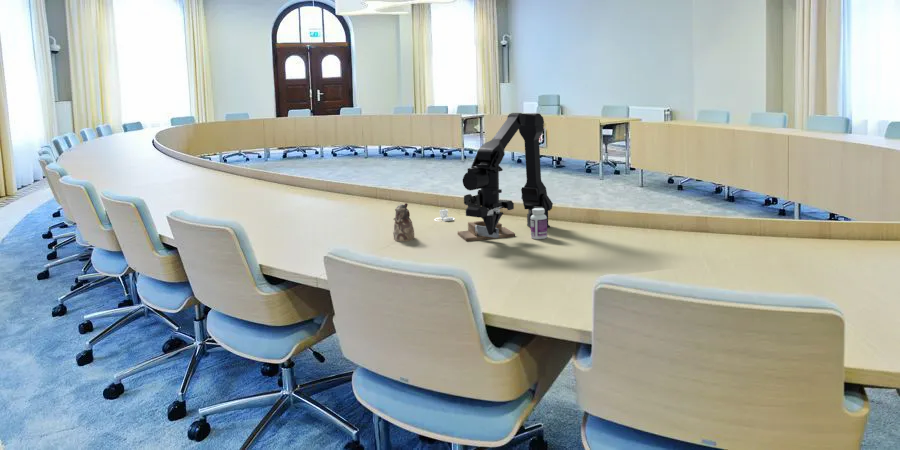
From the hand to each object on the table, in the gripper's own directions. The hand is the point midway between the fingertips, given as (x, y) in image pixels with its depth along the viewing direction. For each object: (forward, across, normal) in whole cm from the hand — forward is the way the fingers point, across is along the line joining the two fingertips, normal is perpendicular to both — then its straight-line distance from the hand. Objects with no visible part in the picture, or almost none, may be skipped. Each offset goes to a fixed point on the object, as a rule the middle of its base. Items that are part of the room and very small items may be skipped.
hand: (490, 234), depth 222 cm
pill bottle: (+3, -14, +10) cm, 17 cm away
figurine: (+3, +10, -29) cm, 31 cm away
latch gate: (+1, -2, -3) cm, 4 cm away
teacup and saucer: (+3, -19, -38) cm, 42 cm away
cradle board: (+2, -8, -8) cm, 12 cm away
